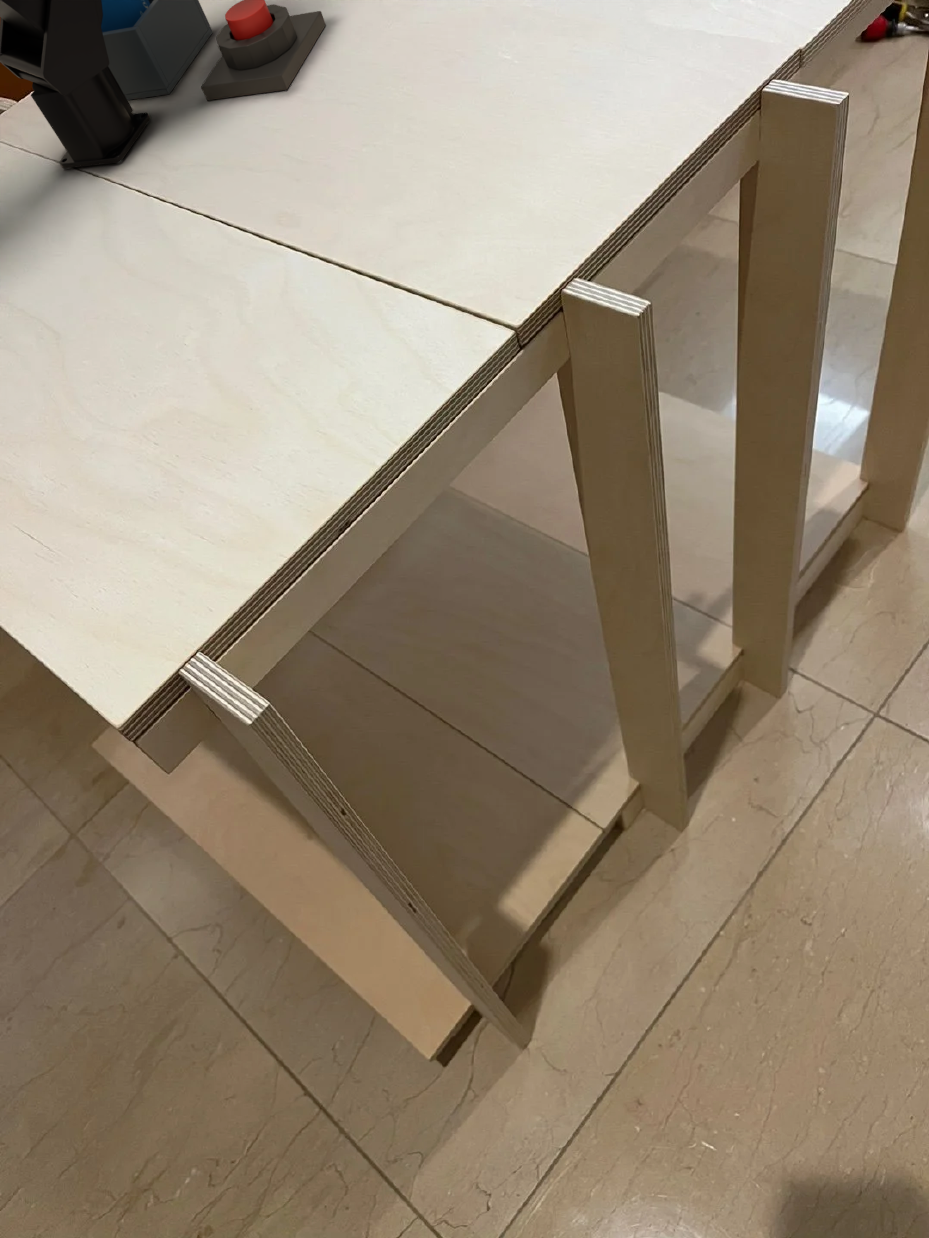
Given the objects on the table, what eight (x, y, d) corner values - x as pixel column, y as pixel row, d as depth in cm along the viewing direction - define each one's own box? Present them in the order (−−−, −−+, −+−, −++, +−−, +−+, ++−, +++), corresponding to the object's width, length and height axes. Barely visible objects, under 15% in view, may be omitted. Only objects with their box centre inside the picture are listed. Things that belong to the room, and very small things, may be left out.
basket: (169, 94, 80) (135, 29, 76) (79, 107, 84) (42, 45, 79) (213, 32, 85) (183, -33, 81) (126, 46, 89) (93, -15, 84)
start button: (264, 39, 75) (255, 17, 74) (228, 45, 76) (218, 23, 75) (279, 16, 77) (270, -6, 75) (243, 22, 78) (234, 0, 77)
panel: (287, 90, 75) (271, 53, 73) (207, 101, 78) (189, 65, 75) (326, 25, 80) (312, -13, 77) (249, 37, 82) (234, 1, 80)
